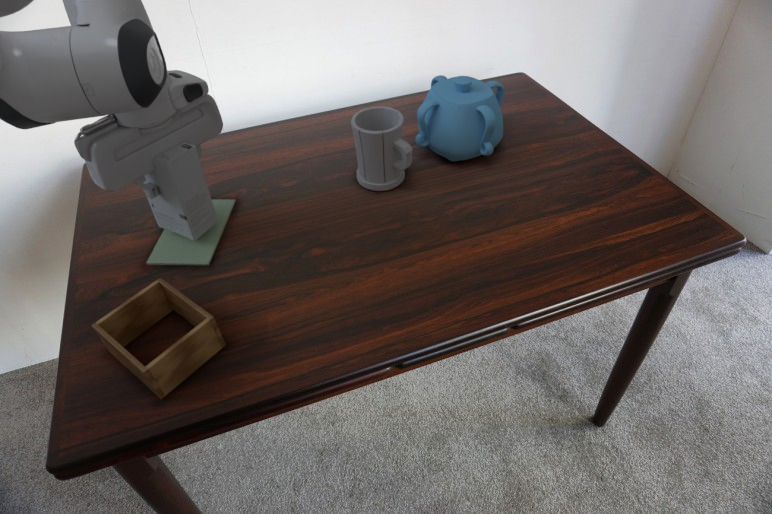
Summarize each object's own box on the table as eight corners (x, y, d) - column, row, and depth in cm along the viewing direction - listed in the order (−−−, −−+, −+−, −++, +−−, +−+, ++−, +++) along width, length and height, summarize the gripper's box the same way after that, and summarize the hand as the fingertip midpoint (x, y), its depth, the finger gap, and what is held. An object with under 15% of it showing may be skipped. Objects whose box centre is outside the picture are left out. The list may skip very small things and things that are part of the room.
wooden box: (161, 399, 64) (143, 372, 60) (110, 353, 70) (90, 325, 66) (226, 345, 70) (213, 316, 66) (174, 305, 75) (160, 277, 71)
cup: (415, 164, 98) (415, 106, 90) (412, 194, 92) (411, 134, 83) (360, 163, 99) (354, 105, 91) (353, 192, 93) (347, 133, 84)
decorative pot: (510, 132, 105) (519, 66, 95) (488, 175, 95) (496, 107, 85) (434, 118, 110) (435, 54, 101) (405, 158, 100) (404, 91, 90)
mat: (209, 265, 81) (208, 263, 81) (146, 264, 82) (145, 263, 81) (235, 201, 92) (235, 199, 92) (181, 200, 93) (180, 199, 93)
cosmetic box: (158, 228, 85) (122, 150, 75) (184, 206, 89) (153, 129, 78) (197, 242, 82) (165, 163, 72) (222, 220, 86) (195, 141, 76)
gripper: (81, 141, 63) (126, 227, 73) (216, 77, 74) (239, 159, 84) (56, 126, 66) (102, 210, 76) (189, 66, 77) (214, 147, 87)
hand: (174, 183), depth 80 cm, fingers closed on cosmetic box, 6 cm apart
